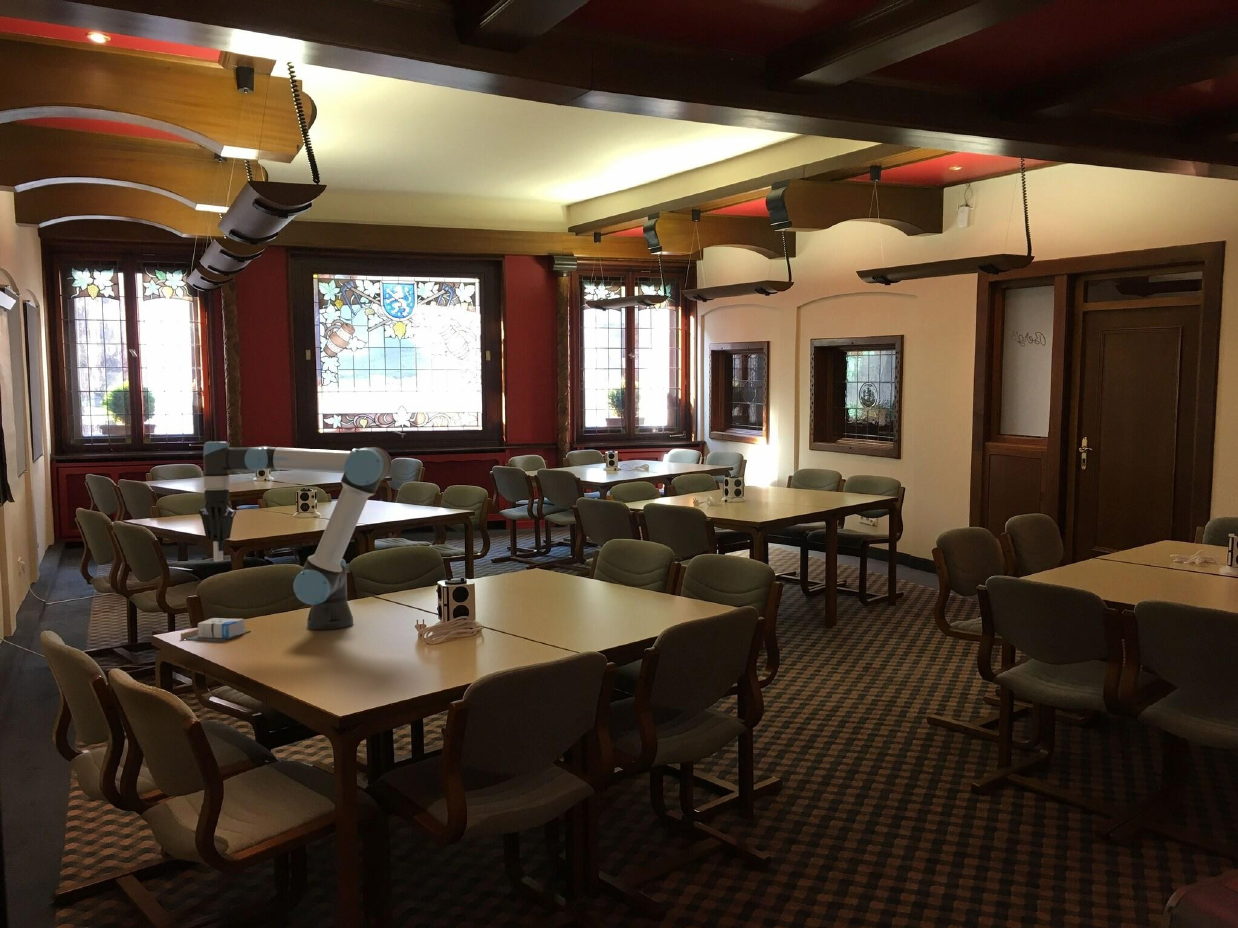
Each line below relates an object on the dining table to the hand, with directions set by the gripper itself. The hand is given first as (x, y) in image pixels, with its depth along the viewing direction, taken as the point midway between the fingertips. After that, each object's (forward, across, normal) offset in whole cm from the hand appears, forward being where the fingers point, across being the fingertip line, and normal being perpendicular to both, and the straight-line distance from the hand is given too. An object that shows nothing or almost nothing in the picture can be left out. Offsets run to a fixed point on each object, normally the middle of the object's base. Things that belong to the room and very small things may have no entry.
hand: (218, 560), depth 310 cm
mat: (+25, +2, 0) cm, 25 cm away
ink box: (+22, -7, 0) cm, 23 cm away
